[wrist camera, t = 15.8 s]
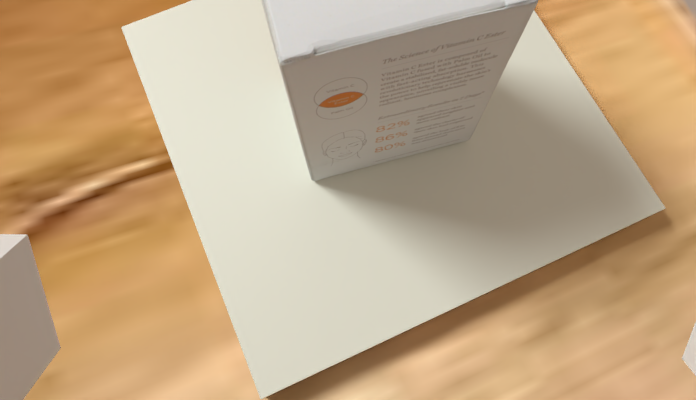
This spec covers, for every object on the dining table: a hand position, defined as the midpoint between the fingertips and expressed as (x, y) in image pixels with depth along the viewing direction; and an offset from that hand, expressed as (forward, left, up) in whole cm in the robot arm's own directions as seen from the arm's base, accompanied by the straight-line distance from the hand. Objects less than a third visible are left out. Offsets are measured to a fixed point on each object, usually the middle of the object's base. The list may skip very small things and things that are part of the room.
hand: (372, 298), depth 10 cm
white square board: (-3, +10, -14) cm, 18 cm away
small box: (-3, +10, -13) cm, 17 cm away
